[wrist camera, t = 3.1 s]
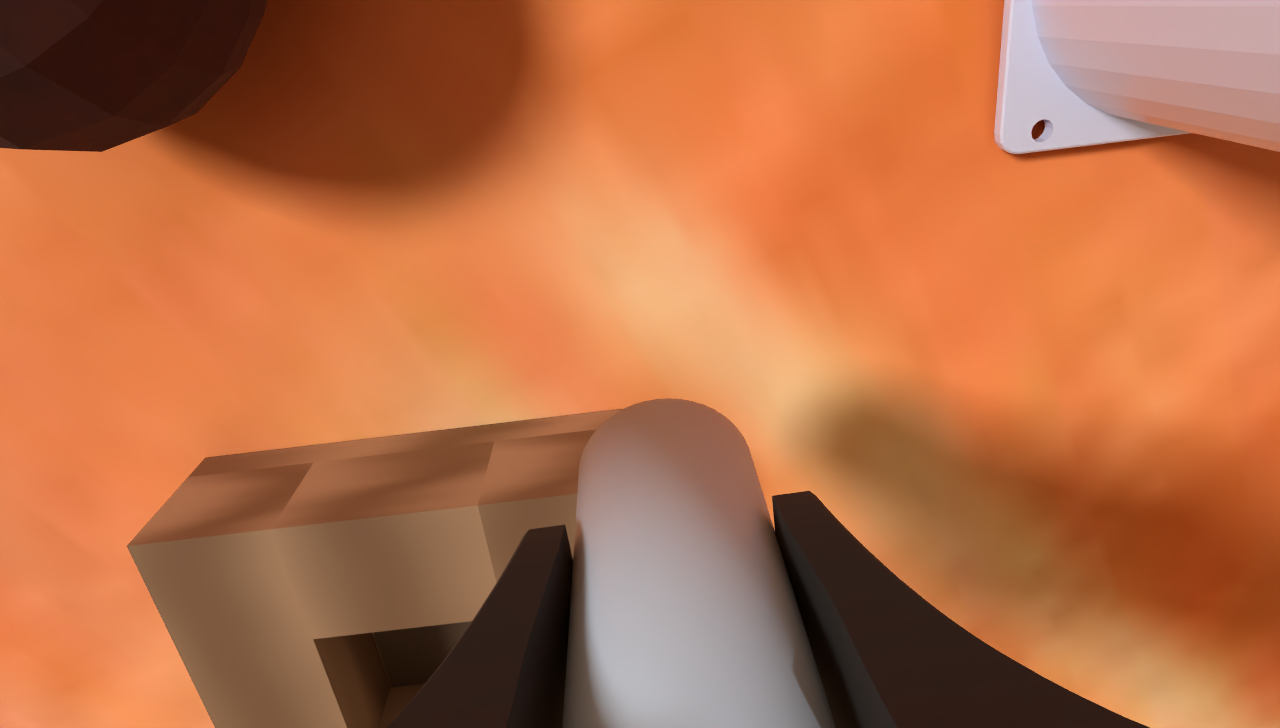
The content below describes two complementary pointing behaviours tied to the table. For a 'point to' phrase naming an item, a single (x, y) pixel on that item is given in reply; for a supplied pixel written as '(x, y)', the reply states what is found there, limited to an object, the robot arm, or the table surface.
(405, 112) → the table surface
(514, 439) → the walnut block
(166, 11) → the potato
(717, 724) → the dowel
